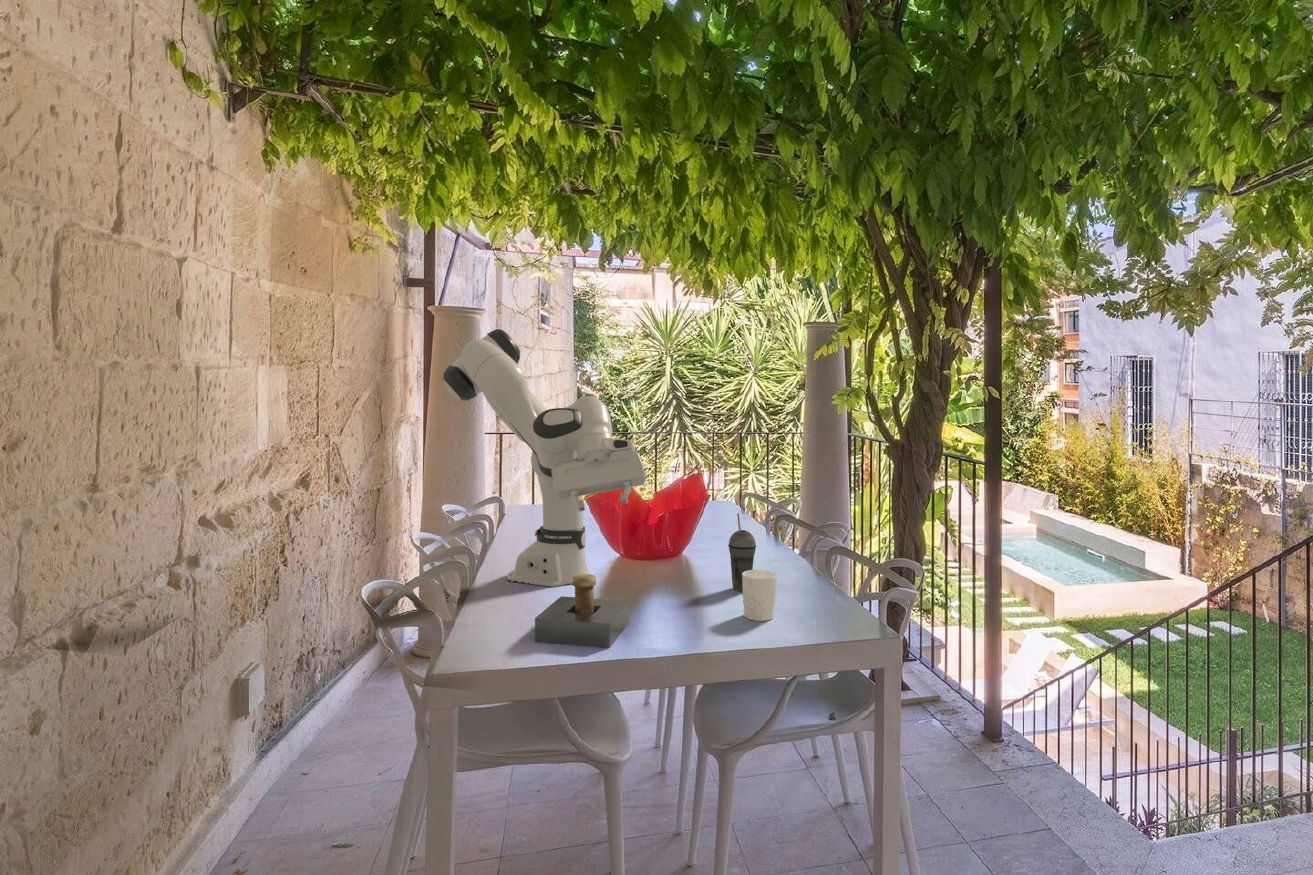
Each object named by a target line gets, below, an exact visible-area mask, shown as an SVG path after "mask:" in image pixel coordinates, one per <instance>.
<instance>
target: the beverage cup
mask: <svg viewBox="0 0 1313 875" xmlns="http://www.w3.org/2000/svg"><path fill="white" fill-rule="evenodd" d="M736 515H737V525H738V526H737V527H738V530H736V531H734V533H732V535H731V536H730V537H729V540H728V545H727V546H728V549H729V555H730V566H731V567H730V568H731V570H730V571H731V583H732V590H733V591H736V592H741V593H743V587H742V573H743V572H745V571H749V570H754V569H753V568H754V567H753V566H754V561H755V560H754V558H755V554H756V547H757V543H756V540H755V537H754V535H753V534H752V533H751V532H749V531H748V530H746V529H742V528H741V519H740V513H736Z"/></svg>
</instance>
